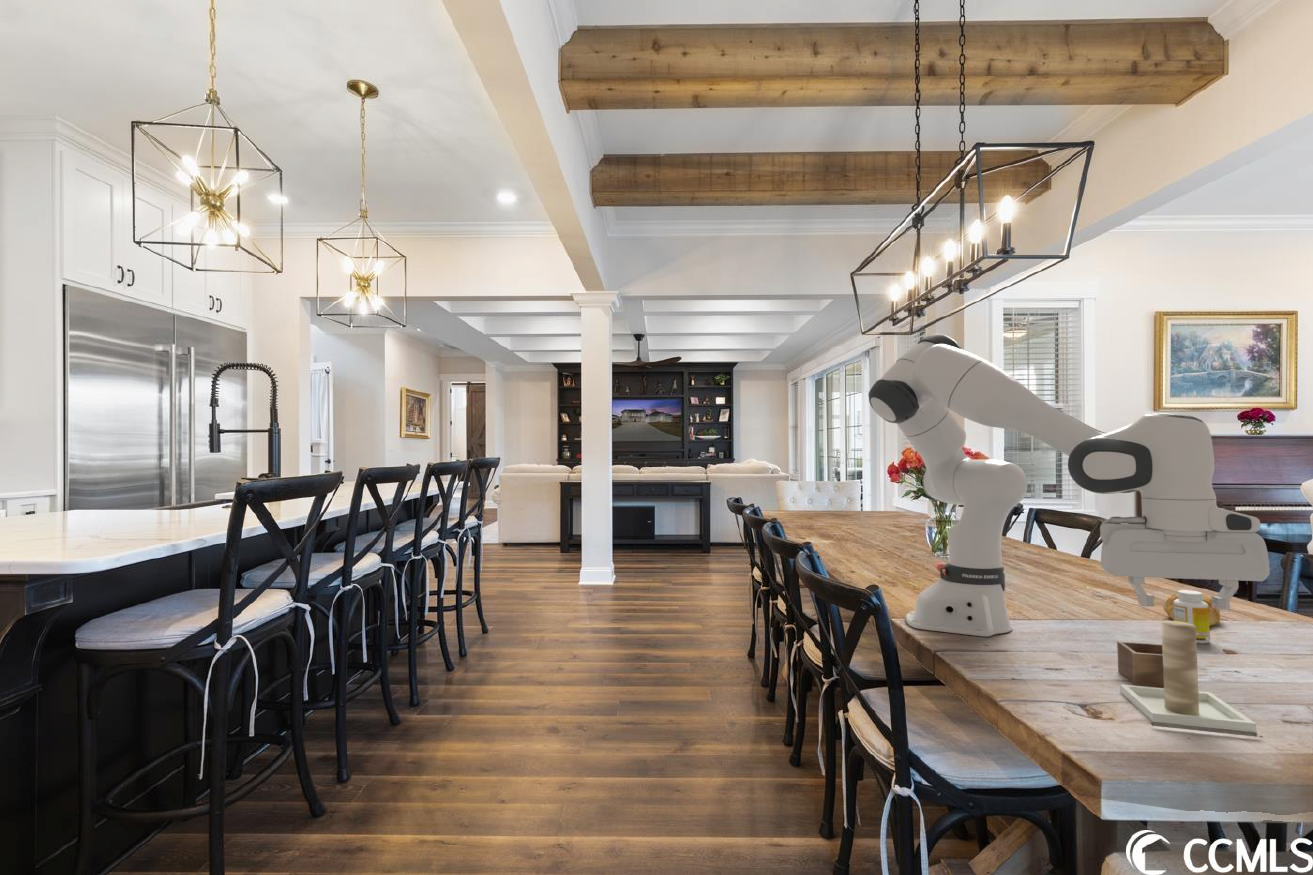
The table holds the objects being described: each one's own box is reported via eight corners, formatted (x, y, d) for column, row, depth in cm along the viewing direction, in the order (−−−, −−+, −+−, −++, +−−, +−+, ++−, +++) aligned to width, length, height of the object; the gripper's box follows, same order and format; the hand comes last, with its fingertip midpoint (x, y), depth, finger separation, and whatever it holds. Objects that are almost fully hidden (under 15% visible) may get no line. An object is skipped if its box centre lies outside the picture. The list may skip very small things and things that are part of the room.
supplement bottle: (1212, 640, 129) (1210, 592, 129) (1207, 646, 125) (1204, 596, 126) (1178, 635, 133) (1176, 588, 134) (1172, 640, 130) (1170, 591, 130)
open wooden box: (1135, 689, 103) (1133, 653, 103) (1118, 674, 110) (1117, 641, 110) (1187, 693, 101) (1185, 657, 101) (1166, 678, 107) (1165, 644, 108)
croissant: (1205, 647, 135) (1227, 618, 133) (1153, 619, 142) (1172, 591, 139) (1211, 626, 150) (1230, 599, 148) (1163, 601, 157) (1181, 575, 154)
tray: (1153, 725, 89) (1152, 713, 89) (1120, 695, 100) (1119, 684, 100) (1256, 736, 85) (1256, 723, 85) (1210, 703, 97) (1210, 692, 97)
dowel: (1171, 713, 92) (1168, 626, 92) (1159, 703, 95) (1156, 619, 96) (1204, 717, 90) (1201, 628, 91) (1191, 706, 94) (1187, 621, 95)
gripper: (1107, 518, 94) (1111, 608, 94) (1274, 519, 88) (1279, 616, 87) (1092, 514, 100) (1095, 599, 100) (1247, 515, 94) (1251, 606, 93)
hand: (1182, 607), depth 94 cm, fingers open, 8 cm apart
